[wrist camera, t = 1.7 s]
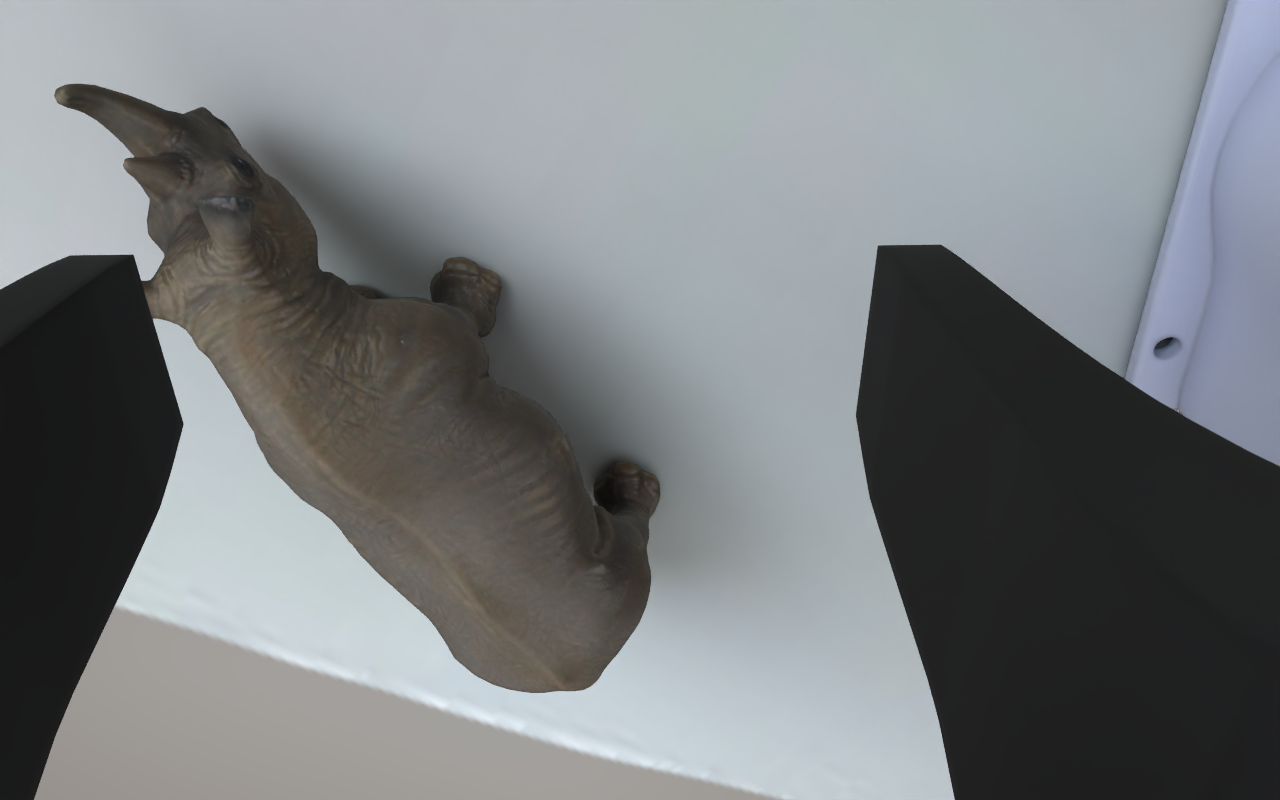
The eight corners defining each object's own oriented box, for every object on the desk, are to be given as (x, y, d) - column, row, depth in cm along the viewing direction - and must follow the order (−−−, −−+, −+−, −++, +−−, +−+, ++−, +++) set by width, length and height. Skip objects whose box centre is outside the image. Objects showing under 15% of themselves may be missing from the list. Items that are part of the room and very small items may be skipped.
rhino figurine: (231, -64, 18) (93, 75, 14) (696, 484, 25) (715, 707, 20) (56, 78, 20) (-126, 251, 15) (543, 563, 27) (526, 790, 22)
